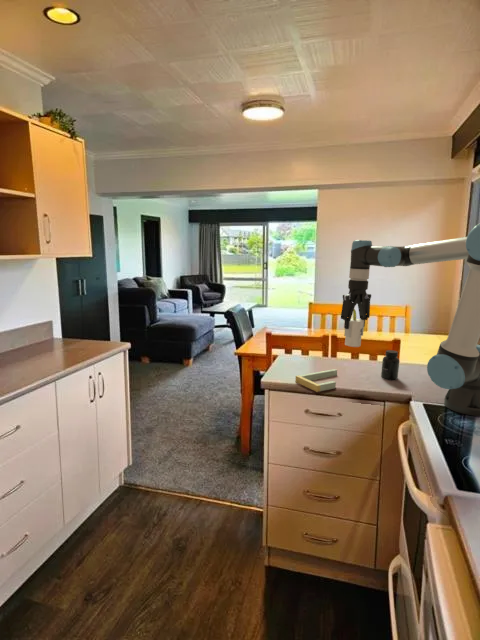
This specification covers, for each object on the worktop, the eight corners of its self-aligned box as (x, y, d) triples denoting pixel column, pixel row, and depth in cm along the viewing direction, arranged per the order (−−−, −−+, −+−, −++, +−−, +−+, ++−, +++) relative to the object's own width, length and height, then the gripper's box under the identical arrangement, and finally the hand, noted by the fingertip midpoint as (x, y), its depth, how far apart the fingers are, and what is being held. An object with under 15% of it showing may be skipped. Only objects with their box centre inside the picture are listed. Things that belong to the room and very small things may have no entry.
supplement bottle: (379, 379, 175) (382, 352, 172) (382, 374, 180) (384, 348, 178) (396, 381, 171) (399, 354, 169) (398, 377, 177) (401, 350, 175)
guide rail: (357, 383, 168) (357, 377, 168) (316, 391, 157) (317, 385, 157) (334, 374, 180) (334, 369, 179) (295, 381, 169) (295, 375, 169)
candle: (357, 347, 163) (361, 311, 160) (342, 344, 167) (345, 308, 164) (363, 345, 168) (366, 309, 165) (348, 342, 172) (351, 307, 169)
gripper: (368, 278, 170) (363, 331, 174) (333, 279, 160) (329, 335, 165) (383, 279, 163) (377, 335, 168) (347, 281, 154) (342, 340, 159)
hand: (353, 335), depth 166 cm, fingers closed on candle, 6 cm apart
